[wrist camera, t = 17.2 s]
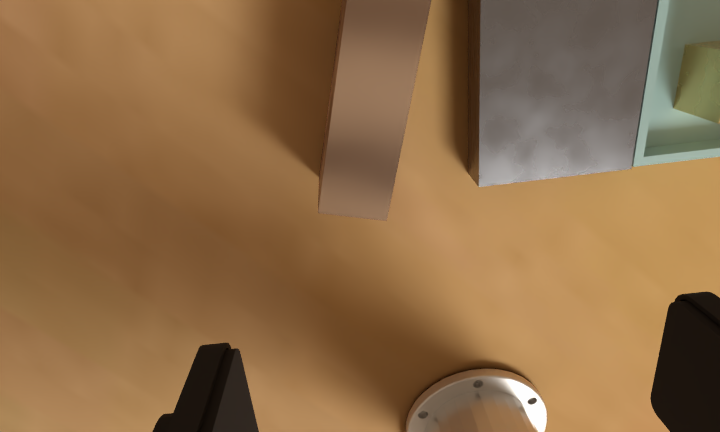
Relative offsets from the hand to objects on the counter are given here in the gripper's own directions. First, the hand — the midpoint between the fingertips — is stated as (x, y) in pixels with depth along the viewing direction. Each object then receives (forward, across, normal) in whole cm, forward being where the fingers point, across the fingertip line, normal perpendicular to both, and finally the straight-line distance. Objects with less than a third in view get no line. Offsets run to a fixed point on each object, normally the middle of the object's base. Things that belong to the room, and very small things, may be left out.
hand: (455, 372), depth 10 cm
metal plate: (+23, -11, -7) cm, 26 cm away
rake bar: (+23, -1, -7) cm, 24 cm away
